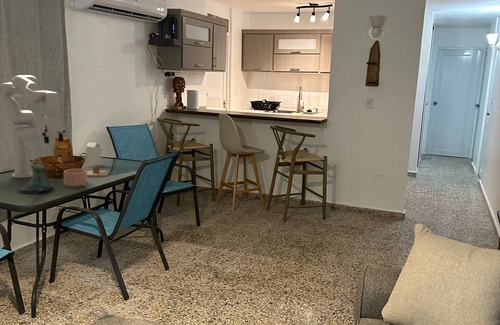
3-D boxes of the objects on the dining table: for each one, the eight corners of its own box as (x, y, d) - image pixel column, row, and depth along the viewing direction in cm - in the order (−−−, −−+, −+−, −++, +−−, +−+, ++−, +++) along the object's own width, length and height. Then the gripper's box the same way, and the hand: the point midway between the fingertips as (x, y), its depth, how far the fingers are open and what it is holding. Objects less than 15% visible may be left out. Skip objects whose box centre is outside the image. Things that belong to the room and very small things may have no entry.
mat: (82, 173, 298) (82, 172, 298) (107, 171, 305) (107, 171, 305) (84, 178, 284) (84, 177, 284) (110, 177, 291) (110, 176, 290)
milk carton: (95, 167, 315) (94, 141, 312) (86, 166, 317) (85, 140, 314) (101, 165, 322) (100, 140, 318) (93, 164, 324) (92, 139, 320)
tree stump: (43, 184, 267) (47, 157, 262) (59, 199, 256) (63, 171, 251) (11, 188, 253) (14, 159, 248) (27, 203, 242) (30, 174, 237)
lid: (83, 172, 298) (83, 163, 297) (106, 171, 304) (106, 162, 303) (85, 177, 285) (84, 168, 283) (109, 176, 291) (109, 167, 289)
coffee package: (66, 169, 305) (65, 138, 301) (52, 168, 309) (50, 137, 304) (76, 167, 314) (75, 136, 310) (62, 165, 318) (60, 135, 314)
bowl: (63, 181, 274) (63, 169, 272) (85, 180, 279) (85, 168, 278) (64, 186, 262) (64, 173, 261) (87, 185, 268) (87, 172, 266)
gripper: (60, 112, 266) (62, 140, 269) (35, 113, 251) (36, 143, 254) (69, 113, 262) (70, 141, 266) (43, 114, 247) (45, 144, 251)
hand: (53, 142), depth 260 cm, fingers open, 9 cm apart
